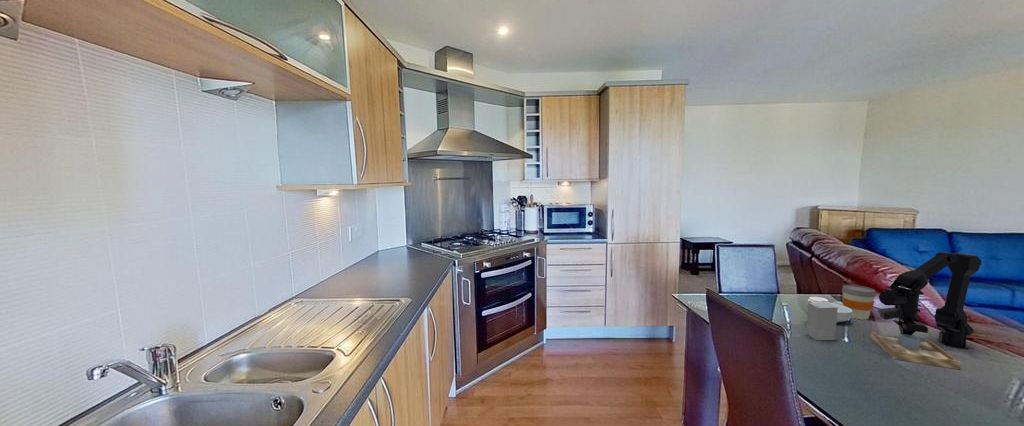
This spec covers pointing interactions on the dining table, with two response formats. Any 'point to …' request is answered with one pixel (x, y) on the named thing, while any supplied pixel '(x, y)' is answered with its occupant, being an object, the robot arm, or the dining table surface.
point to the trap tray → (917, 352)
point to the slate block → (909, 341)
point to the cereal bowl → (843, 312)
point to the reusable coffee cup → (858, 300)
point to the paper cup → (817, 299)
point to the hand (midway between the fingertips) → (904, 339)
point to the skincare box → (821, 321)
